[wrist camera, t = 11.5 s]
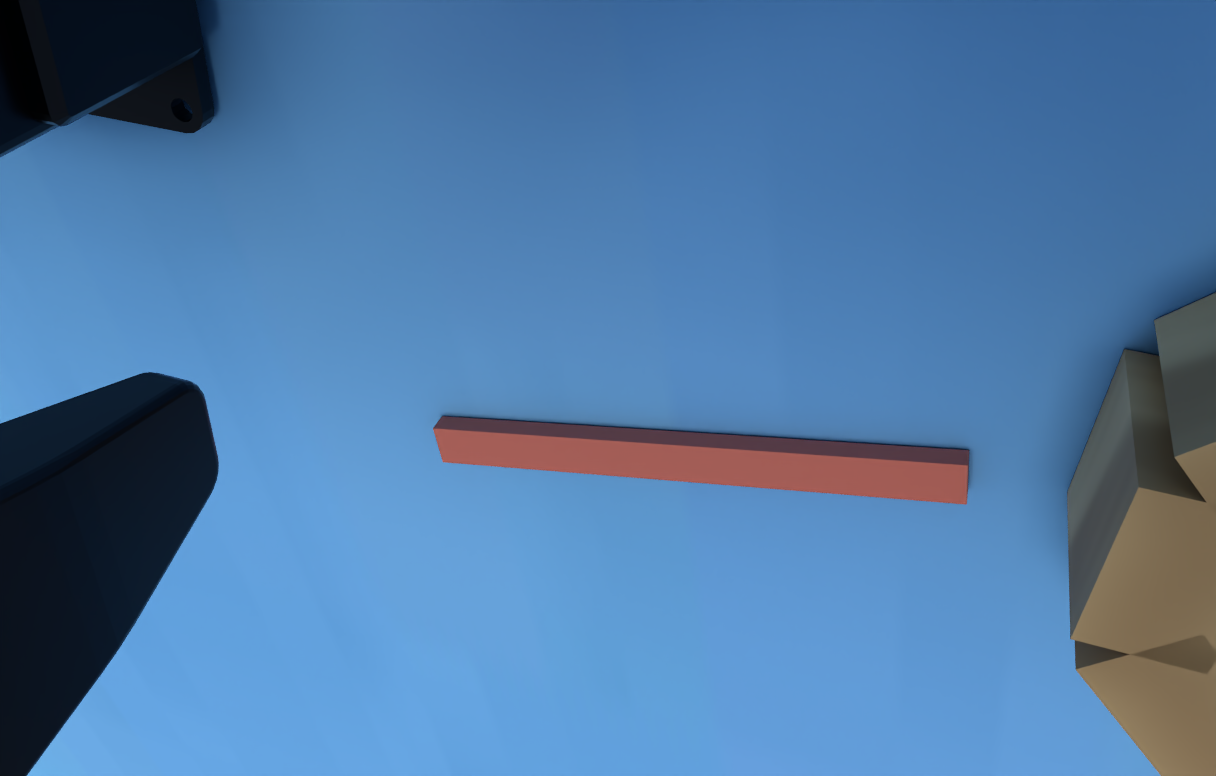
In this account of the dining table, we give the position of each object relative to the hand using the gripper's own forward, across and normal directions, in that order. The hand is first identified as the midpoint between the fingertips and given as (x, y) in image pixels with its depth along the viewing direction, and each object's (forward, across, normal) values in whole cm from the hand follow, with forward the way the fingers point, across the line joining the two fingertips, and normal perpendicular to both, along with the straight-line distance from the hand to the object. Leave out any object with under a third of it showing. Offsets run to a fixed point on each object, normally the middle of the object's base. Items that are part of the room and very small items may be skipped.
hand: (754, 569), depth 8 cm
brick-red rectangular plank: (+13, +3, +10) cm, 17 cm away
